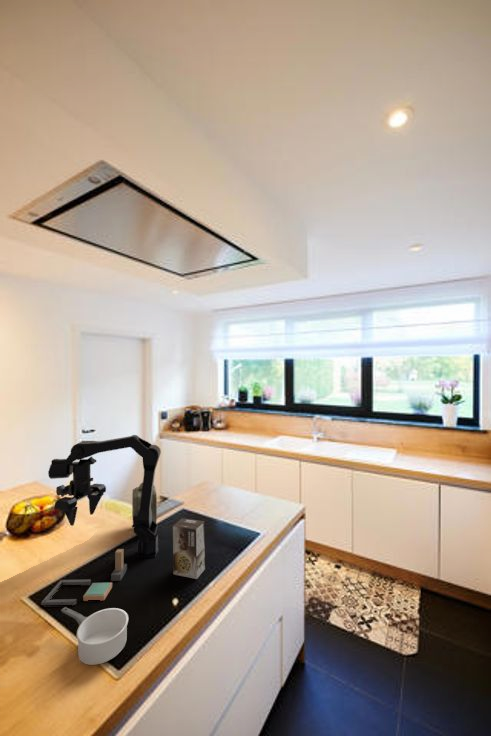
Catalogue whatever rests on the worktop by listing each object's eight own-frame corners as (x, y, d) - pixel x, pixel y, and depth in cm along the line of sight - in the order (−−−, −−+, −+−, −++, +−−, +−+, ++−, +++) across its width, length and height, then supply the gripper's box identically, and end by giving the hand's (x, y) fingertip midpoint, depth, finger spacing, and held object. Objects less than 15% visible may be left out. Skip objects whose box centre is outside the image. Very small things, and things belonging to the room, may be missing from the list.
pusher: (126, 569, 108) (127, 545, 108) (120, 580, 102) (120, 555, 102) (118, 569, 108) (118, 546, 108) (111, 581, 102) (111, 555, 102)
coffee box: (205, 568, 108) (205, 520, 108) (196, 580, 102) (196, 529, 102) (182, 563, 111) (182, 517, 111) (172, 574, 105) (172, 525, 105)
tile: (112, 588, 99) (112, 581, 99) (104, 601, 93) (104, 594, 93) (92, 588, 98) (92, 582, 99) (83, 602, 92) (83, 595, 93)
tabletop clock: (156, 536, 131) (156, 475, 131) (133, 540, 127) (133, 477, 128) (153, 521, 144) (153, 466, 145) (132, 525, 141) (132, 468, 142)
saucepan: (82, 615, 87) (82, 594, 87) (138, 638, 79) (138, 615, 79) (40, 647, 77) (41, 623, 77) (100, 678, 69) (101, 651, 69)
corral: (90, 583, 100) (90, 579, 100) (74, 605, 90) (74, 601, 91) (60, 583, 100) (60, 580, 100) (41, 606, 90) (41, 602, 90)
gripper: (83, 468, 127) (83, 507, 126) (41, 483, 109) (42, 529, 108) (106, 469, 124) (107, 510, 123) (67, 485, 106) (68, 532, 105)
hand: (82, 519), depth 115 cm, fingers open, 9 cm apart
